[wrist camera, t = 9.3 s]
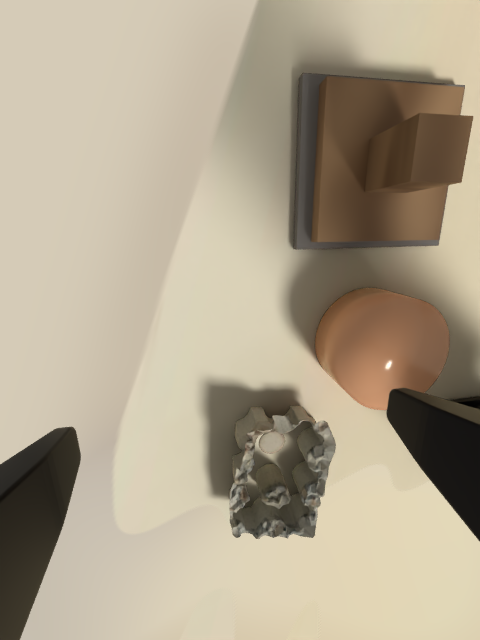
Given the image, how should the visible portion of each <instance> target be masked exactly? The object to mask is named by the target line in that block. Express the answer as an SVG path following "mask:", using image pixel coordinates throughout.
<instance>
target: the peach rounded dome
mask: <svg viewBox="0 0 480 640" xmlns="http://www.w3.org/2000/svg"><path fill="white" fill-rule="evenodd" d="M449 345H450V337H449V330H448V327H447V324H446V321H445V319H444V318H443V316H442V314H441V313H440V312H439V311H438V310H437V309H436V308H435V307H434V306H432V305H431V304H429V303H427V302H425V301H422V300H419V299H415V298H412V297H408V296H404V295H401V294H397V293H394V292H390V291H386V290H383V289H378V288H361V289H357V290H354V291H351V292H349V293H347V294H345V295H343V296H342V297H341V298H339V299H338V300H337V301H335V302H334V303H333V304H332V305H331V306H330V308H329V309H328V310H327V311H326V313H325V314H324V316H323V317H322V319H321V321H320V323H319V326H318V329H317V333H316V339H315V349H316V355H317V358H318V361H319V363H320V365H321V366H322V368H323V369H324V370H325V371H326V373H327V374H328V375H329V376H330V377H332V378H333V379H334V380H335V381H336V382H337V383H338V384H339V385H340V386H341V387H342V388H343V389H344V390H345V391H346V392H347V393H348V394H349V395H350V396H351V397H352V398H353V399H354V400H356V401H357V402H358V403H360V404H361V405H363V406H365V407H368V408H372V409H377V410H387V406H388V399H389V393H390V391H391V390H392V389H396V388H408V389H411V390H415V391H418V392H422V393H425V392H426V391H427V390H428V389H429V388H430V387H431V386H432V385H433V383H434V382H435V381H436V379H437V378H438V376H439V375H440V373H441V371H442V369H443V367H444V365H445V362H446V360H447V356H448V352H449Z"/></svg>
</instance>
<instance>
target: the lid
mask: <svg viewBox="0 0 480 640" xmlns="http://www.w3.org/2000/svg"><path fill="white" fill-rule="evenodd" d="M464 88H465V87H455V86H443V85H431V84H419V83H406V82H394V81H382V80H370V79H357V78H345V77H333V76H327V77H326V78H325V79H324V80H323V81H322V82H321V83H320V85H319V101H318V120H317V139H316V158H315V177H314V196H313V215H312V234H311V242H349V241H402V240H439V236H440V230H441V224H442V218H443V212H444V206H445V201H446V195H447V189H448V185H450V184H456V183H461V182H462V176H463V171H464V165H465V160H466V154H467V148H468V143H469V137H470V132H471V126H472V121H473V116H462V115H460V112H461V106H462V100H463V94H464Z"/></svg>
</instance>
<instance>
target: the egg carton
mask: <svg viewBox="0 0 480 640" xmlns="http://www.w3.org/2000/svg"><path fill="white" fill-rule="evenodd" d="M272 418H273V419H272ZM272 418H269V417H267V416H266V415H265V412H264V410H263V408H262V407H251V408H250V410H249V412H248V414H247V415H246V416H245V417H244V418H242V419H240V420H237V422H236V424H235V437H234V438H236V440H237V444H238V446H239V448H240V449H241V450H243V451H242V452H241V453H239V454H237V455H235V456H232V461H233V479H234V483H233V485H232V488H231V489H230V491H229V498H230V523H231V527H232V533H233V535H234V536H235V537H236V538H238V537H240V536H241V533H250V534H253V536H254V537H255V538H256V539H259V538H260V537H262V536H264V535H267V536H270V537H273V538H274V537H277V536H280V537H286V538H288V537H289V535H291V534H296V535H299V536H303V537H311V538H313V537H314V535H315V528H316V521H317V508H318V507H319V506H320V504H321V502H320V497H323V496H324V493H325V483H326V479H327V476H328V469H329V465H330V462H331V460H332V457H333V455H334V453H335V446H336V444H335V440H334V437H333V435H332V433H331V431H330V428H329V426H328V423H327V422H325V421H320V422H318V423H316V421H315V419H314V418H313V417H309V416H308V415H307V413H306V412H305V410H304V409H303V407H301V406H290V408H289V410H288V412H287V413H286V414H285V415H284V416H277V415H273V416H272ZM302 421H309V422H310V423H311V424H312V428H308V429H305V430H304V431H302V432H301V433H300V435H299V436H298V438H297V444H298V447H299V449H300V451H301V453H302V454H303V456H304V458H305V460H306V461H305V462H301V463H299V464H298V465H297V466H296V467H295V468H294V469H293V472H292V477H293V480H294V482H295V484H296V486H297V489H298V491H299V493H296V494H294V495H293V496H291V497H290V494H289V490H288V487H287V485H286V482H285V480H284V477H283V475H282V473H281V470H280V469H279V468H278V467H277V466H276V465H275V464H266V465H263V466H262V467H260V468H259V469H258V471H257V472H256V475H255V478H256V482H257V486H258V489H259V493H260V497H259V498H257V499H256V500H255V501H254V503H253V505H252V507H247V508H243V507H244V505H245V503H247V502H248V501H250V496H249V494H248V491H247V487H246V483H245V482H247V481H248V479H247V475H248V473H249V472H250V471H251V470H252V469H253V467H252V466H253V465H255V462H254V460H253V454H254V447H255V442H256V439H257V437H258V436H259V435H261V434H263V433H265V434H263V436H262V437H261V438H260V441H259V446H260V448H261V450H262V451H263V452H266V453H270V454H271V453H275V452H277V451H279V450H280V449H281V448H282V447H283V445H284V443H285V437H284V435H283V434H285V433H288V432H290V431H292V430H293V429H295V428H296V427H297V426H298V425H300V423H301V422H302Z"/></svg>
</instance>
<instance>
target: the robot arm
mask: <svg viewBox="0 0 480 640" xmlns="http://www.w3.org/2000/svg"><path fill="white" fill-rule="evenodd" d="M387 418H388V420H389V422H390V424H391V425H392V427H393V428H394V430H395V431H396V433H397V434H398V435H399V437H400V438H401V440H402V441H403V443H404V444H405V446H406V447H407V449H408V450H409V452H410V453H411V455H412V456H413V458H414V459H415V461H416V462H417V464H418V465H419V466H420V468H421V469H422V470H423V471H424V473H425V474H426V475H427V477H428V478H429V479H430V480H431V481H432V483H433V484H434V485H435V486H436V488H437V489H438V490H439V491H440V493H441V494H442V495H443V496H444V498H445V499H446V500H447V501H448V503H449V504H450V505H451V506H452V507H453V509H454V510H455V511H456V513H457V514H458V515H459V516H460V518H461V519H462V520H463V521H464V522H465V524H466V525H467V526H468V528H469V529H470V530H471V531H472V533H473V534H474V535H475V536H476V537H477V539H478V540H479V541H480V397H474V398H466V399H459V400H451V401H449V400H445V399H442V398H439V397H435V396H432V395H428V394H425V393H422V392H418V391H415V390H411V389H408V388H396V389H392V390H391V391H390V393H389V399H388V406H387ZM80 460H81V454H80V449H79V444H78V439H77V434H76V430H75V429H74V428H73V427H65V428H57V429H54V430H53V431H51V432H50V433H48V434H47V435H45V436H44V437H42V438H41V439H39V440H37V441H36V442H34V443H33V444H31V445H30V446H28V447H27V448H25V449H24V450H22V451H20V452H19V453H17V454H16V455H14V456H13V457H11V458H10V459H8V460H7V461H5V462H3V463H2V464H0V640H20V638H21V635H22V632H23V630H24V627H25V624H26V622H27V619H28V617H29V614H30V611H31V609H32V606H33V604H34V601H35V598H36V596H37V593H38V590H39V588H40V585H41V583H42V580H43V577H44V574H45V572H46V569H47V567H48V564H49V562H50V559H51V556H52V554H53V551H54V548H55V546H56V543H57V541H58V538H59V535H60V532H61V530H62V527H63V524H64V520H65V517H66V514H67V510H68V506H69V502H70V499H71V495H72V491H73V487H74V484H75V480H76V476H77V472H78V468H79V465H80Z"/></svg>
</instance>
